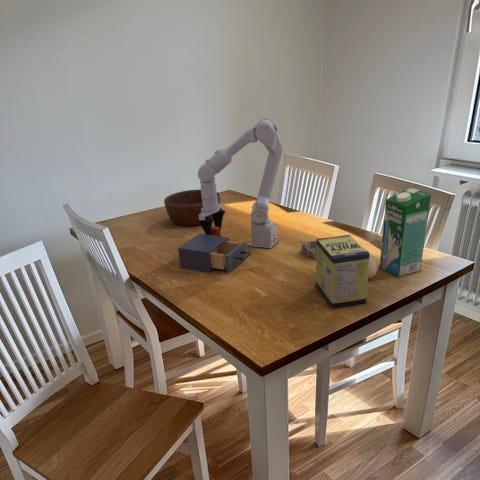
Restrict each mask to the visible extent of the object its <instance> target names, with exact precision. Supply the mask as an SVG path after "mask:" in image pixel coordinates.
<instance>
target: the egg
mask: <svg viewBox="0 0 480 480" xmlns="http://www.w3.org/2000/svg"><path fill="white" fill-rule="evenodd" d="M377 271H378V262H377V260H376V258H375V256H374V255H372V254H370V255H369V268H368V280H370V279H372V278H373V277H375V275H376V274H377Z"/></svg>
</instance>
